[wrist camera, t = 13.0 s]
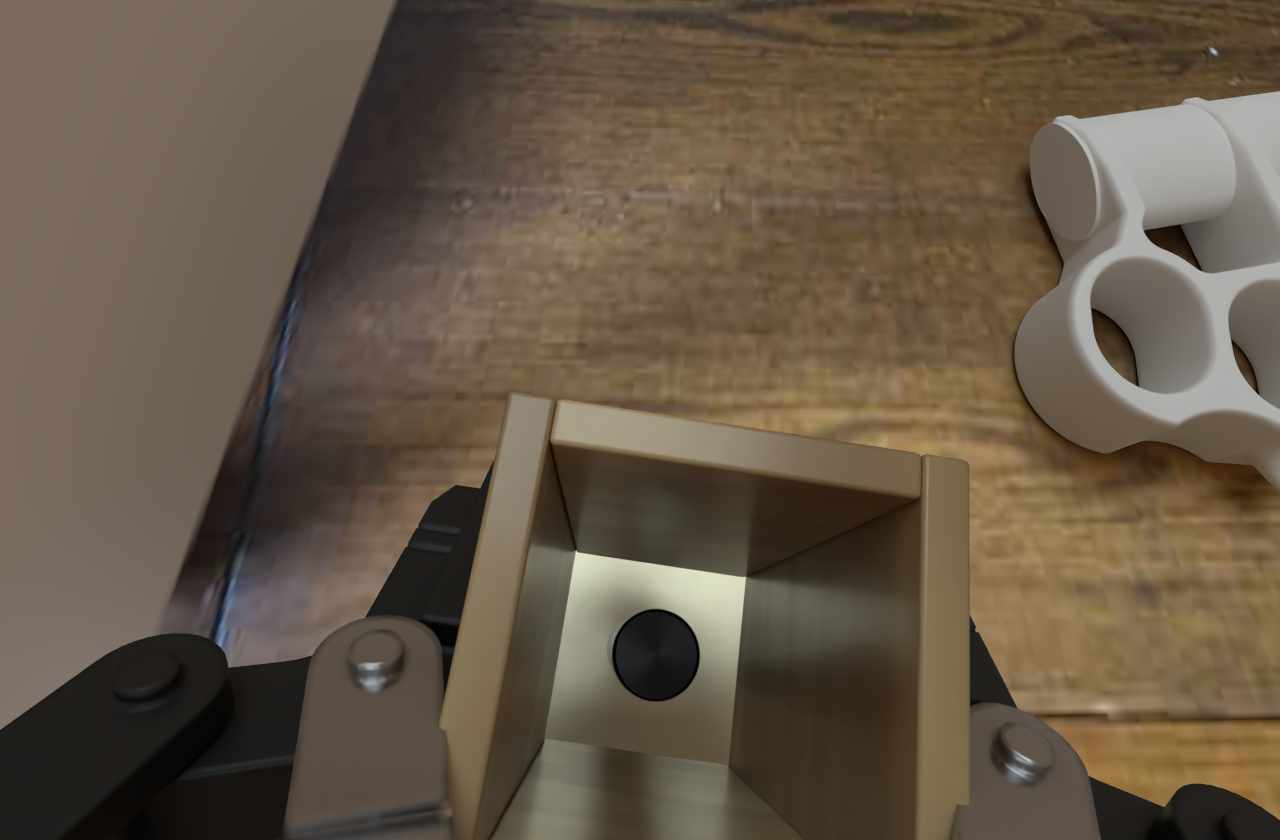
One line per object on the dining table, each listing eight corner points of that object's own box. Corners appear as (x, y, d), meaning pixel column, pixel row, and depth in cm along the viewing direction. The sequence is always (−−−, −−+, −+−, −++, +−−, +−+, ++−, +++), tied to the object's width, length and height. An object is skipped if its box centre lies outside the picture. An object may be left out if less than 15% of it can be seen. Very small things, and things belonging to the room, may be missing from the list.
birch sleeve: (516, 761, 14) (392, 939, 6) (557, 527, 16) (508, 389, 7) (749, 795, 14) (973, 1020, 6) (769, 558, 16) (972, 458, 7)
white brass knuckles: (1341, 111, 29) (1539, 448, 25) (935, 170, 27) (1078, 548, 23) (1434, 46, 26) (1678, 420, 22) (981, 107, 24) (1156, 533, 20)
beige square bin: (430, 809, 20) (301, 939, 11) (501, 464, 23) (442, 358, 14) (783, 860, 20) (926, 1027, 11) (807, 510, 23) (933, 432, 14)
